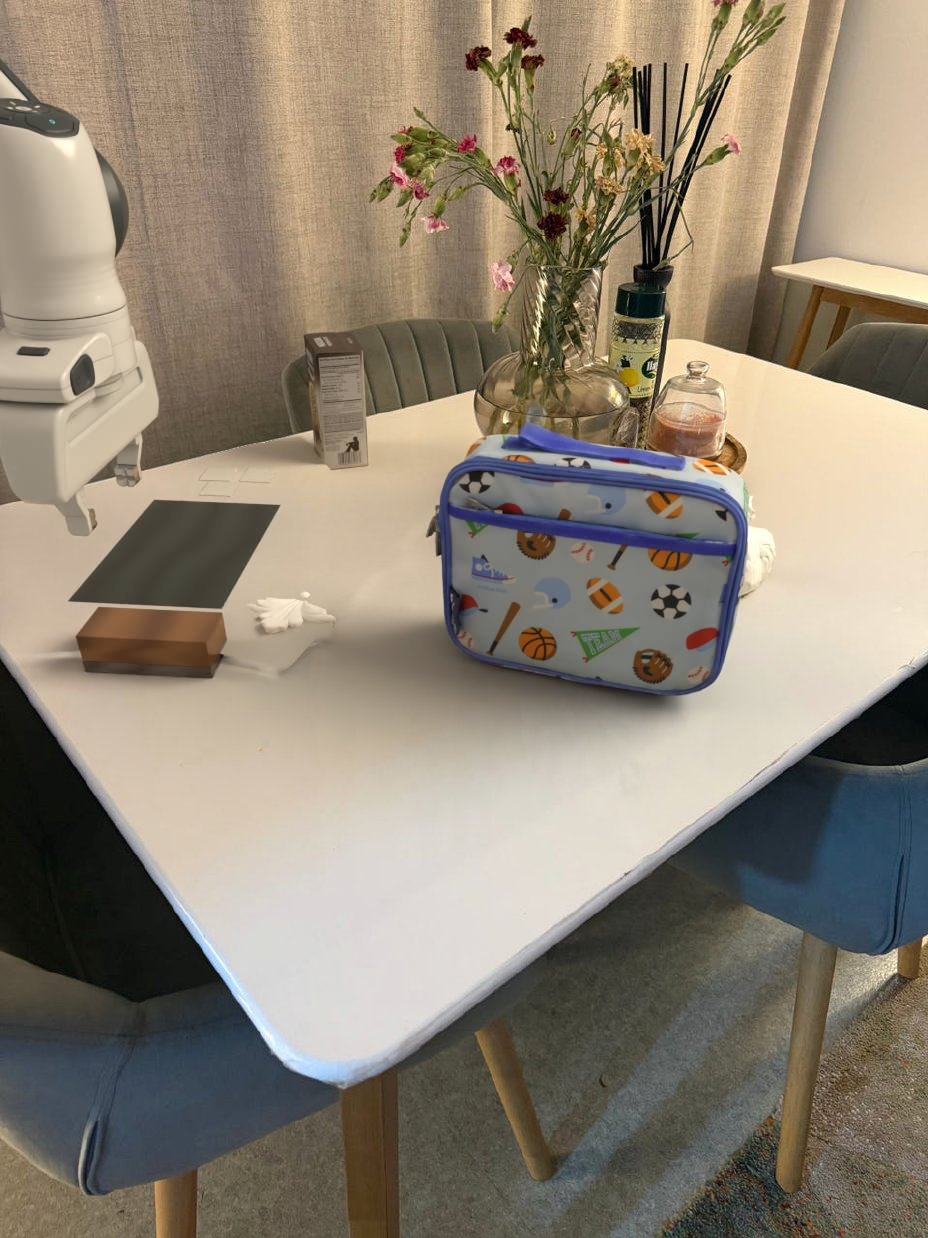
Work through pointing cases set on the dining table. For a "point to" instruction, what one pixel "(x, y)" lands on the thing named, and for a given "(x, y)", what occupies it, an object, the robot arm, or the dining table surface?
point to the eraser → (152, 642)
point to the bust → (757, 554)
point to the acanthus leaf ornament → (288, 613)
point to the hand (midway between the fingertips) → (108, 506)
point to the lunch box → (592, 560)
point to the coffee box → (337, 398)
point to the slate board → (179, 555)
